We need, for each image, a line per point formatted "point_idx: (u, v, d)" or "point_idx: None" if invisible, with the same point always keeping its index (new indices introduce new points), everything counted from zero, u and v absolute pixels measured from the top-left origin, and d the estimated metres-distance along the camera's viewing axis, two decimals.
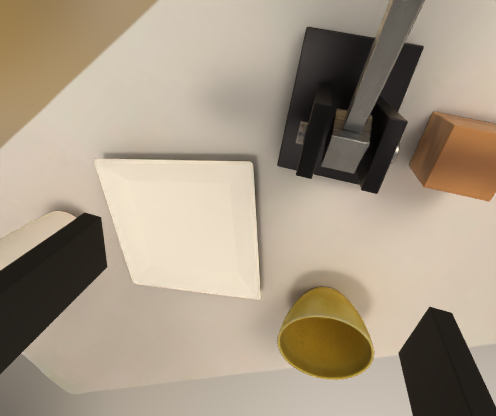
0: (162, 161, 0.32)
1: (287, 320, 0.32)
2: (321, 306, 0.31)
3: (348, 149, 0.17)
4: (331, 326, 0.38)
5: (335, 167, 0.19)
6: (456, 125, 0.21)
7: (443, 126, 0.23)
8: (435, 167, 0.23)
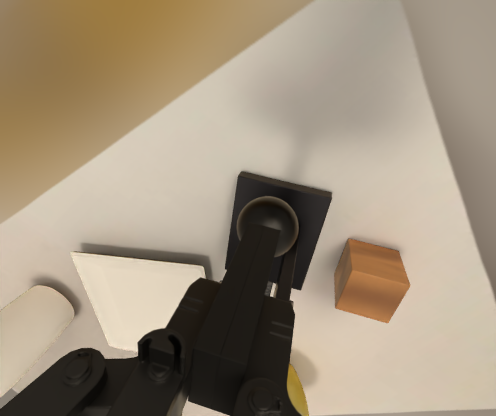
0: (128, 259, 0.36)
1: None
2: None
3: None
4: None
5: None
6: (353, 270, 0.26)
7: (348, 262, 0.27)
8: (342, 296, 0.27)
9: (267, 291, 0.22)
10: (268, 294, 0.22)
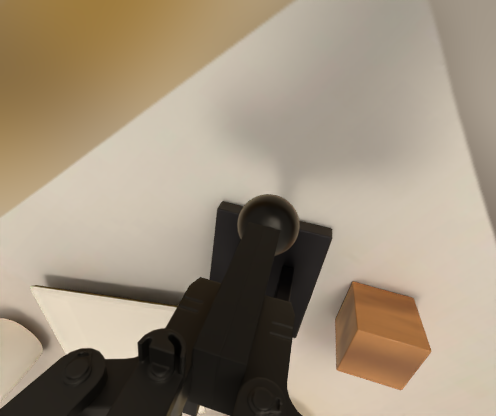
0: (94, 297, 0.31)
1: None
2: None
3: None
4: None
5: None
6: (359, 329, 0.21)
7: (353, 316, 0.22)
8: (345, 358, 0.22)
9: None
10: None
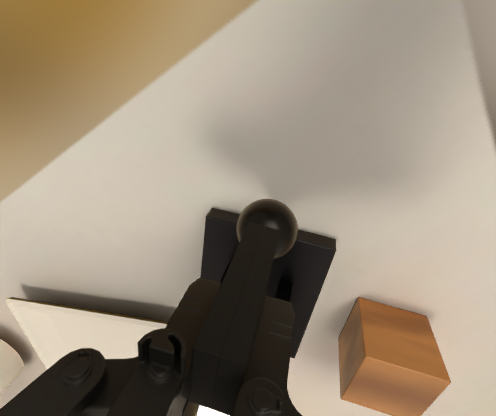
0: (74, 311, 0.28)
1: None
2: None
3: None
4: None
5: None
6: (368, 356, 0.18)
7: (360, 339, 0.20)
8: (351, 386, 0.20)
9: None
10: None
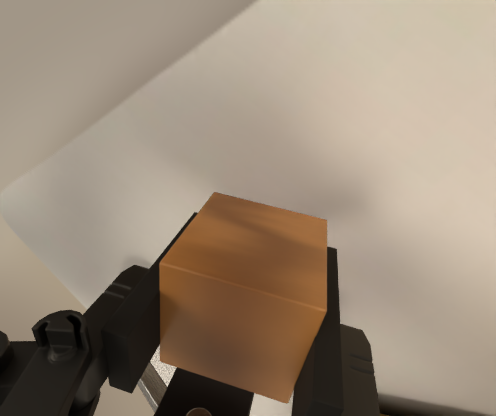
0: None
1: None
2: None
3: None
4: None
5: None
6: (160, 357, 0.11)
7: None
8: (242, 386, 0.11)
9: None
10: None
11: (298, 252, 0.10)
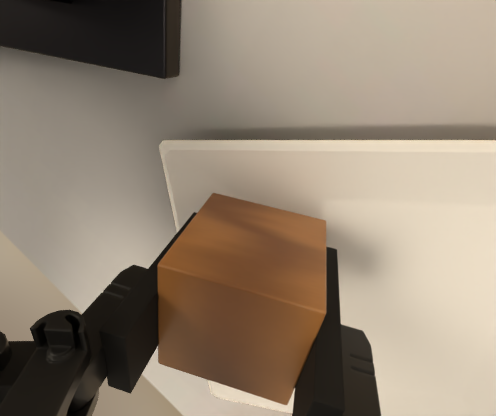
0: None
1: None
2: None
3: None
4: None
5: None
6: None
7: None
8: (242, 388, 0.11)
9: None
10: None
11: (298, 253, 0.10)
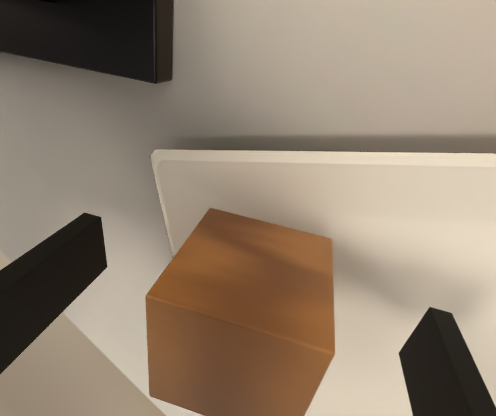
0: None
1: None
2: None
3: None
4: None
5: None
6: None
7: None
8: None
9: None
10: None
11: (302, 279, 0.09)
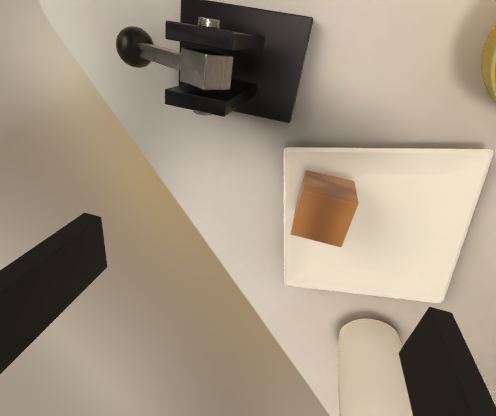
0: (284, 229, 0.35)
1: None
2: (486, 58, 0.20)
3: (186, 65, 0.20)
4: None
5: (202, 74, 0.19)
6: (291, 232, 0.29)
7: None
8: (324, 241, 0.28)
9: None
10: None
11: (346, 189, 0.28)
